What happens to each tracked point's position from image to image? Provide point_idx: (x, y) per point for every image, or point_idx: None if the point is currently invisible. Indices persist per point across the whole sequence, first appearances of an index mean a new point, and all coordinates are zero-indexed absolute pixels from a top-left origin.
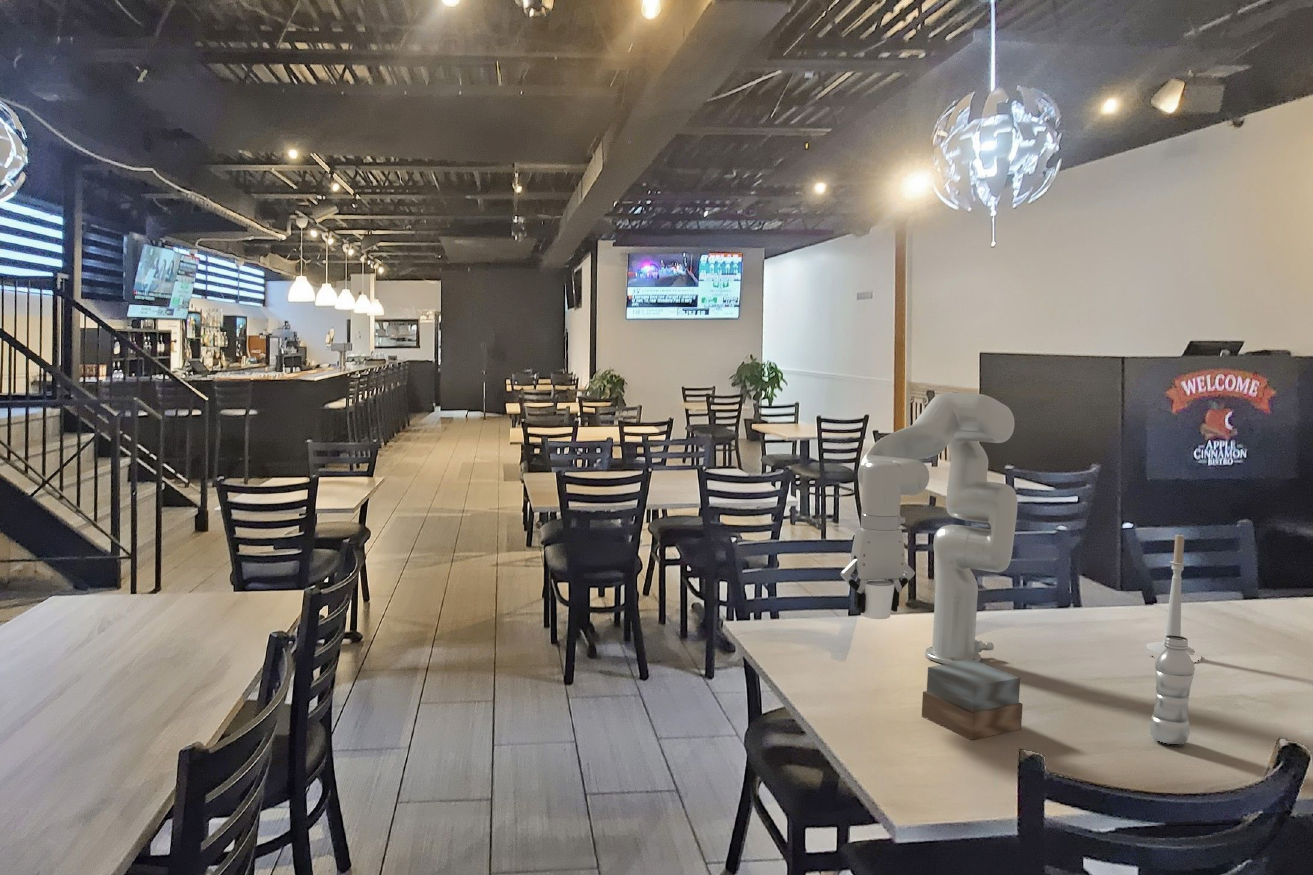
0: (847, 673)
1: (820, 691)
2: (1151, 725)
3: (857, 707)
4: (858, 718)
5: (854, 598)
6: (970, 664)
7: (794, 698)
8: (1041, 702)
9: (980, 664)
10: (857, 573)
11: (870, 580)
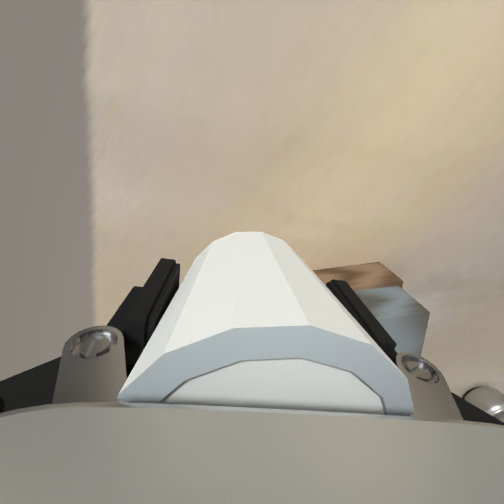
0: (299, 3)
1: (171, 110)
2: (479, 405)
3: (202, 214)
4: (179, 256)
5: (119, 309)
6: (398, 333)
7: (97, 133)
8: (487, 274)
9: (415, 337)
10: (65, 424)
11: (235, 403)
